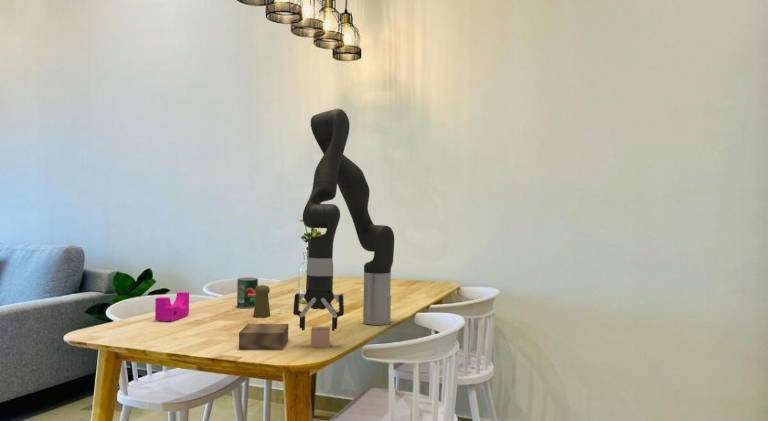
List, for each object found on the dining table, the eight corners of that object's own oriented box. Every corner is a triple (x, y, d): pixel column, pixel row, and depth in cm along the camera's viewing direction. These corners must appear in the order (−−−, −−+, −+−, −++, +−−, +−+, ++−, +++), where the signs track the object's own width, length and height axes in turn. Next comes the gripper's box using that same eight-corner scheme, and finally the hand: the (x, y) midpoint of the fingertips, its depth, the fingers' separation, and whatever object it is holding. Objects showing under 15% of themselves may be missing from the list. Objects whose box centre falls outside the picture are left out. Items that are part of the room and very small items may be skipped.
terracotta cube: (329, 343, 161) (329, 326, 161) (328, 348, 156) (328, 330, 156) (312, 343, 161) (312, 326, 161) (310, 348, 156) (311, 330, 156)
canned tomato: (241, 304, 224) (241, 277, 224) (260, 305, 223) (260, 277, 223) (233, 307, 216) (234, 279, 216) (253, 308, 215) (254, 280, 215)
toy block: (171, 321, 190) (171, 299, 190) (155, 320, 191) (155, 298, 191) (195, 313, 205) (195, 292, 205) (179, 312, 206) (180, 292, 206)
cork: (249, 316, 199) (250, 285, 199) (259, 313, 205) (260, 283, 204) (264, 318, 197) (264, 287, 197) (273, 315, 202) (274, 284, 202)
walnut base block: (288, 340, 165) (288, 323, 165) (282, 351, 153) (283, 332, 153) (247, 340, 165) (247, 323, 165) (238, 350, 153) (239, 332, 153)
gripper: (345, 272, 163) (343, 328, 163) (296, 271, 162) (294, 327, 162) (344, 275, 155) (342, 333, 155) (293, 274, 155) (291, 332, 155)
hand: (318, 330), depth 159 cm, fingers open, 8 cm apart
